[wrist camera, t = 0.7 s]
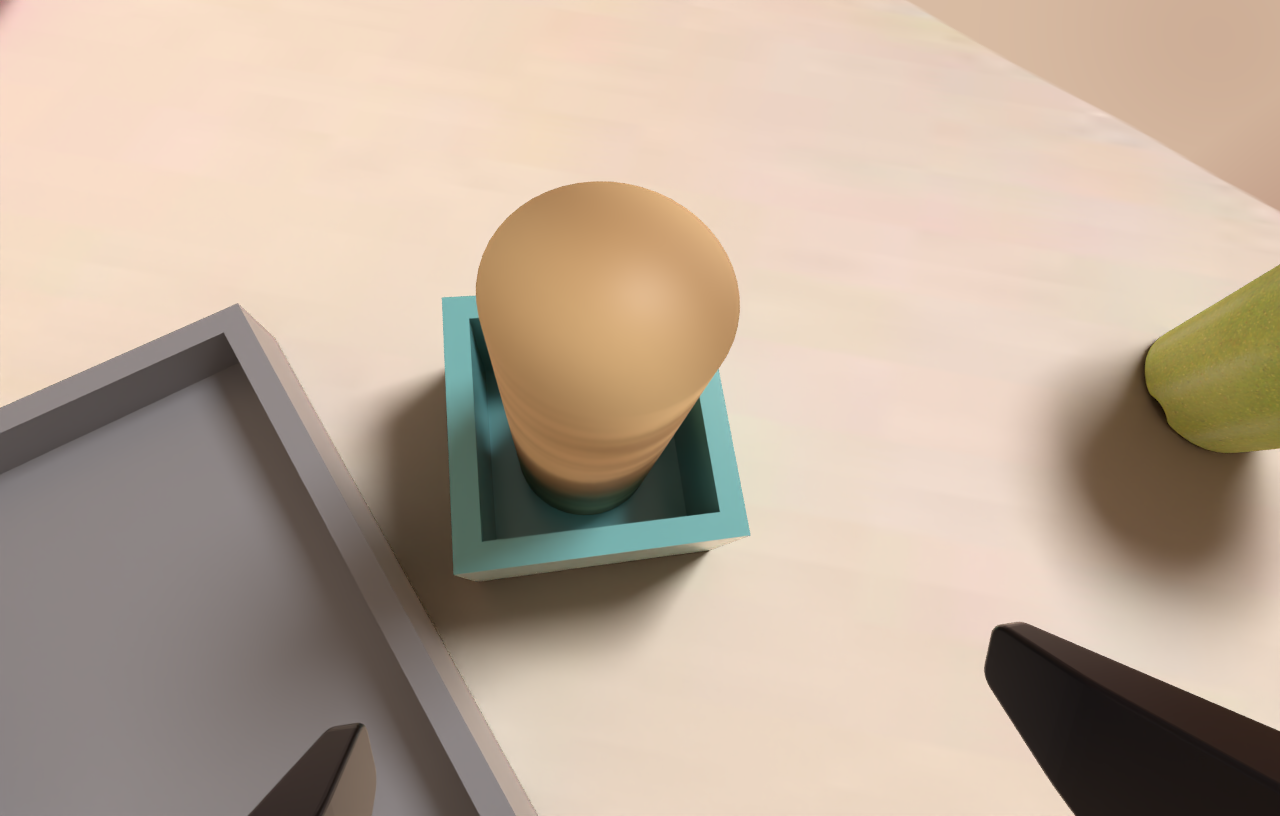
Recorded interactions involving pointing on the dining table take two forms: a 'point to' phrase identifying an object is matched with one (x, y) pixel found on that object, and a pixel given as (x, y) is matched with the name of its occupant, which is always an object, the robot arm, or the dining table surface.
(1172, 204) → the dining table surface
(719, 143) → the dining table surface
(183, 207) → the dining table surface
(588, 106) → the dining table surface
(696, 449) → the teal open box
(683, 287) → the dowel pin
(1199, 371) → the plant pot
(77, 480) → the charcoal tray
